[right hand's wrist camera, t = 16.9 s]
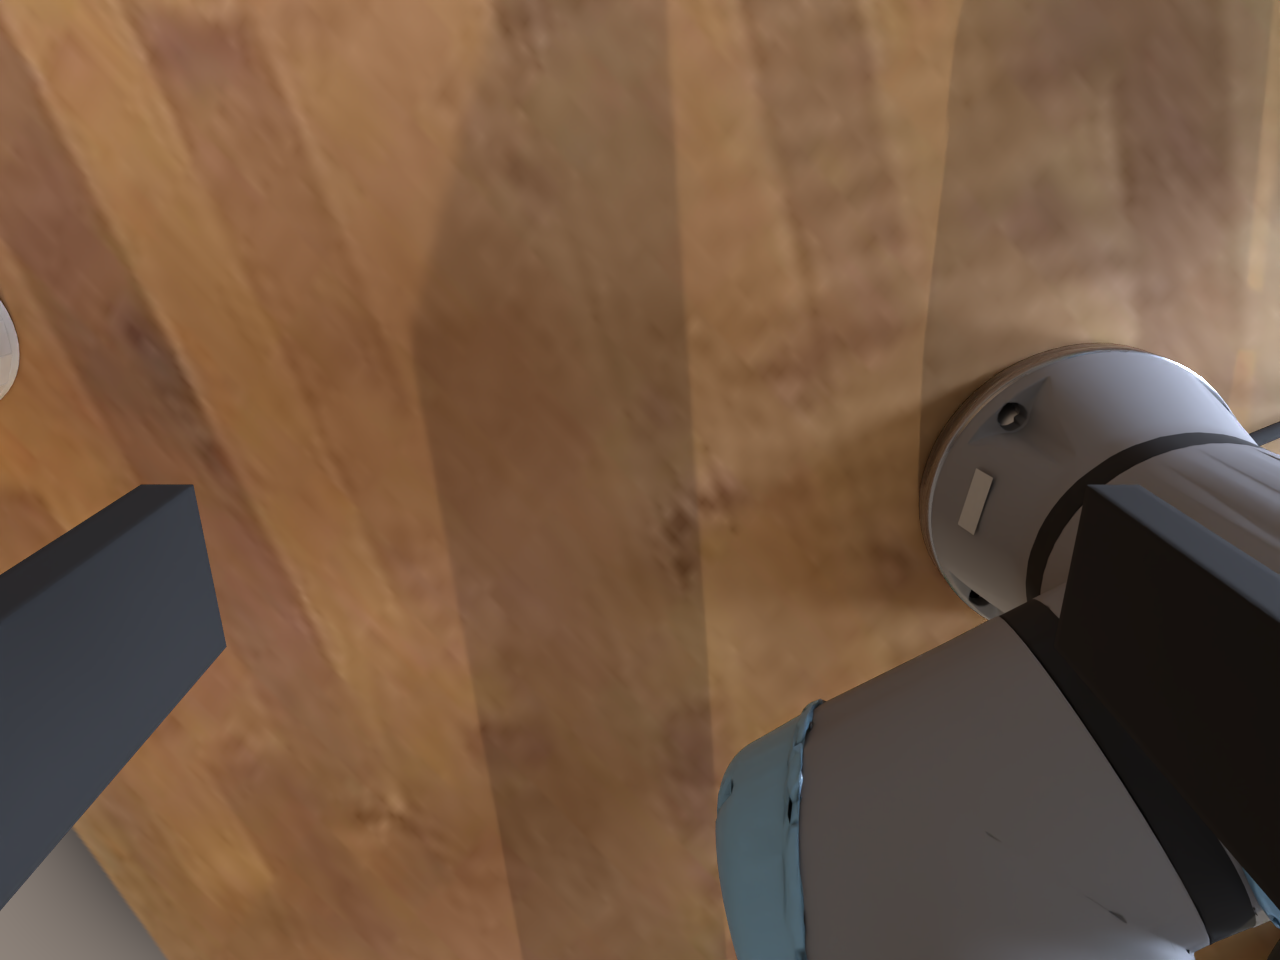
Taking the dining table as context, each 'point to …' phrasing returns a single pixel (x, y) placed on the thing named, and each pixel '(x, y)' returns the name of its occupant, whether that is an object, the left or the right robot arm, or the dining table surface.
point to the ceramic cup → (7, 351)
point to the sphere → (1275, 952)
